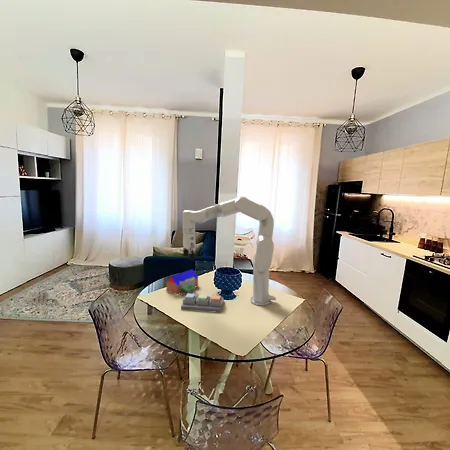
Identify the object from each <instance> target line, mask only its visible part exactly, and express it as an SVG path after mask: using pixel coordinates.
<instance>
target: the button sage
mask: <svg viewBox="0 0 450 450" xmlns="http://www.w3.org/2000/svg"><path fill="white" fill-rule="evenodd" d="M198 296H199V297H198ZM198 296H197V297H198V300H204V301H207V299H208V296H209V294H203V293H201V294H199V295H198Z"/></svg>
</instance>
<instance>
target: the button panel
mask: <svg viewBox="0 0 450 450" xmlns="http://www.w3.org/2000/svg"><path fill="white" fill-rule="evenodd" d="M198 297H199V295H196V294H195V298H194V300H190V299H185V296H184V297H183V299H182V304H181V305H180V310H184V311H185V310H186V311H199V312H209V311H216V312H215V313H221V311H220V310H222V308H223V305H224V303H223V302H225V299H224V297H223V296H221V301H220V302H218V301H211V298H212V296H210V295H208V299H207V301H204V300H198ZM221 307H222V308H221Z"/></svg>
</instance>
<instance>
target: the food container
mask: <svg viewBox="0 0 450 450" xmlns="http://www.w3.org/2000/svg"><path fill="white" fill-rule="evenodd" d="M194 283H195V278H194V277H193V276H192V278H190V279H186V280H184V281H180V283H179V284H180V287H181V293H180V294H182V295H181V296H184V295H187V293H190V294H192V293H193V292H194V293H195V287H194ZM194 293H193V294H194Z"/></svg>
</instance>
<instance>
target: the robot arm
mask: <svg viewBox="0 0 450 450" xmlns="http://www.w3.org/2000/svg"><path fill="white" fill-rule="evenodd" d="M237 213H241V214H243V215H245V216H247V217H250V218H251V219H254V220H256V221H258V223H259V224H258V225H259V226H258V233H257V238H256V251H255V253H254V255H253V260H252V261H253V262H252V264H253V267H252V268H253V273H252V276H253V277H252V282H253V283H252V296H251V297H250V303H252V304H253V305H256V306H267V305H270V304H271V302H272V301H276V299H277V297H276V296H274V295H270V293H269V291H270V290H269V288H270V287H269V286H270V283H269V282H270V281H269V280H270V279H269V278H270V269H271V265H272V262H273V256H274V250H275V249H274V248H275V245H274V241H273V235H274V234H273V233H274V227H275V226H274V225H275V223H274V222H275V220H274V217H273V214H272V212H271V211H270V210H269V209H268V208H267V207H266V206H265V205H263V204H259V203H256V202H254V201H252V200H250V199H249V198H248V197H245V196H239V197H236V198H233V199H229V200H227V201H224V202H223V201H222V202H220V203H218V204H215V205H212V206H209V207H206V208H203V209H200V210H196V211H194V210H191V209H188V210H185V209H184V211H182V235H183V236H182V247H183V248H182V250H183V257H188V256H189V257H188V258H189V259H188V260H189V261H193V260H195V259H196V257H195V255H196V249H197V244H196V243H197V242H196V224H204V223H205V222H206V221H209V220H213V219H215V218H224V217H229V216H231V215H235V214H237Z"/></svg>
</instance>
